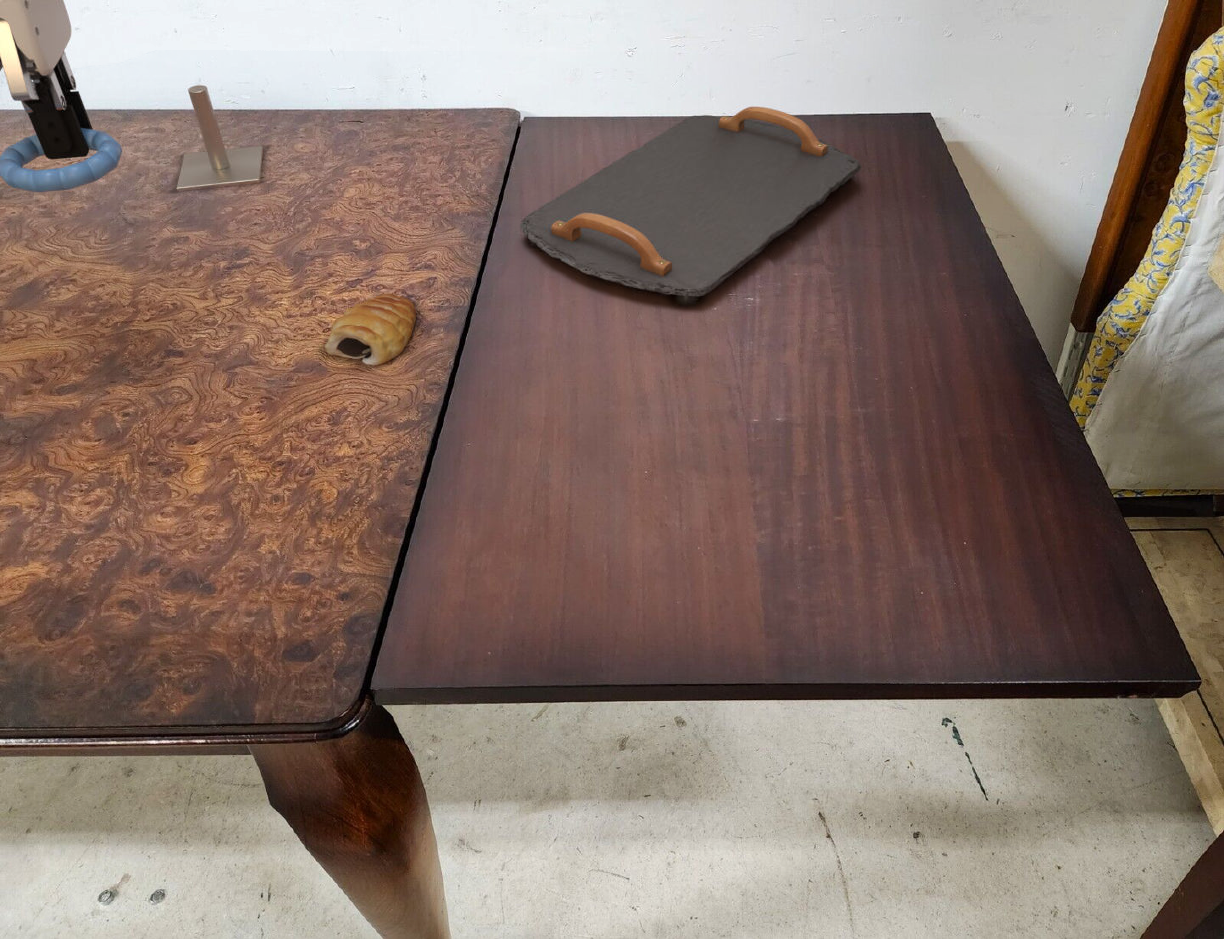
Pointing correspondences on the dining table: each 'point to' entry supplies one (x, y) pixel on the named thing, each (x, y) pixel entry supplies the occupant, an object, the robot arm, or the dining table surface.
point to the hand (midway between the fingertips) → (71, 147)
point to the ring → (63, 177)
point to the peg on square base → (216, 153)
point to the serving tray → (692, 202)
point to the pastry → (373, 329)
